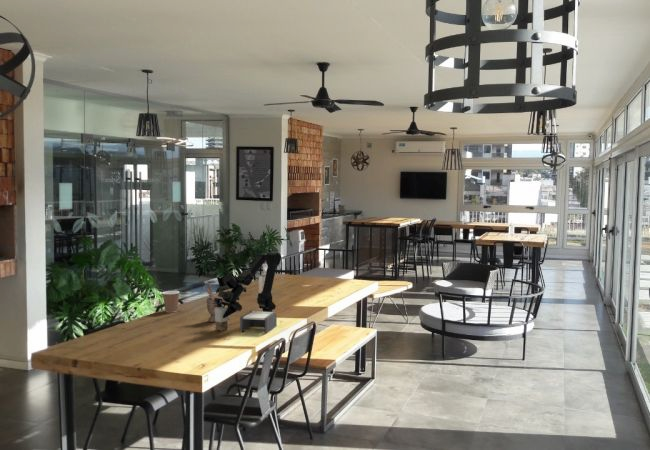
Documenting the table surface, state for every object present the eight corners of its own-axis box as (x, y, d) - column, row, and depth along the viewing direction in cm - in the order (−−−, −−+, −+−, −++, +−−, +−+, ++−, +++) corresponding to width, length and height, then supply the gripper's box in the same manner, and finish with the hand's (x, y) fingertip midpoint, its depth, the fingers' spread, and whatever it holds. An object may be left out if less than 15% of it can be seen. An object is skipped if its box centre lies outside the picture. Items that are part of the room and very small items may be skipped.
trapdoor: (253, 316, 349) (253, 310, 348) (273, 317, 346) (273, 311, 346) (243, 323, 334) (243, 316, 333) (264, 324, 331) (264, 317, 331)
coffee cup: (182, 309, 392) (181, 290, 391) (176, 313, 382) (176, 293, 381) (166, 309, 393) (165, 290, 392) (160, 313, 383) (159, 293, 382)
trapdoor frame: (251, 324, 350) (250, 310, 349) (276, 326, 346) (276, 311, 346) (240, 331, 334) (240, 317, 333) (266, 333, 330) (266, 318, 330)
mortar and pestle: (199, 321, 360) (199, 286, 358) (209, 318, 367) (208, 284, 366) (216, 323, 354) (215, 288, 353) (225, 320, 362) (224, 286, 360)
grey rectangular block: (222, 319, 342) (222, 306, 341) (228, 320, 338) (227, 308, 338) (215, 320, 338) (214, 308, 338) (220, 322, 335) (220, 309, 334)
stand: (222, 328, 342) (222, 319, 341) (227, 329, 339) (227, 320, 338) (215, 330, 338) (215, 320, 338) (221, 331, 335) (220, 322, 335)
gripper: (215, 283, 346) (200, 305, 339) (237, 286, 333) (221, 310, 326) (227, 295, 352) (212, 317, 345) (249, 299, 340) (233, 322, 333)
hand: (219, 316), depth 337 cm, fingers open, 6 cm apart
